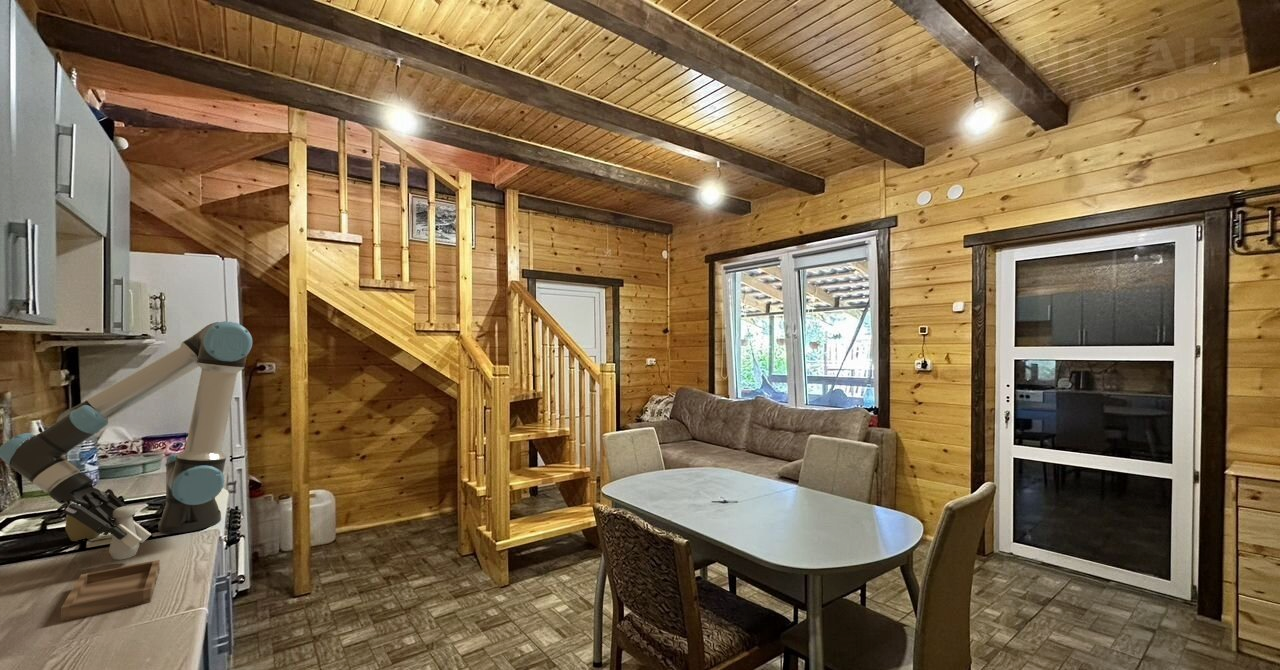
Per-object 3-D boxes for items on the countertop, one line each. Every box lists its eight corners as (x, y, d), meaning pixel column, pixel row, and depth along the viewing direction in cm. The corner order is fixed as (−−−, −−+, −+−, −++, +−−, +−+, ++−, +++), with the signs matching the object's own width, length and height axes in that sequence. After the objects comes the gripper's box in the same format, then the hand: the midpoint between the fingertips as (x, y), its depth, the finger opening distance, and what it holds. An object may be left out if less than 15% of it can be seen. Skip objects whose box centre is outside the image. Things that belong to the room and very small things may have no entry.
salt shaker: (120, 562, 137) (119, 511, 137) (103, 560, 138) (102, 510, 138) (145, 552, 143) (144, 504, 143) (128, 550, 144) (128, 502, 144)
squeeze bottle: (92, 541, 155) (92, 479, 155) (57, 544, 152) (57, 481, 152) (111, 531, 163) (111, 472, 162) (77, 534, 160) (77, 474, 160)
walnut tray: (81, 586, 128) (81, 574, 128) (159, 571, 137) (159, 559, 137) (61, 621, 113) (61, 607, 113) (150, 601, 121) (150, 588, 121)
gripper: (77, 484, 145) (150, 540, 149) (24, 504, 129) (107, 565, 133) (100, 464, 146) (172, 519, 150) (50, 480, 130) (131, 542, 134)
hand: (141, 541), depth 141 cm, fingers closed on salt shaker, 3 cm apart
